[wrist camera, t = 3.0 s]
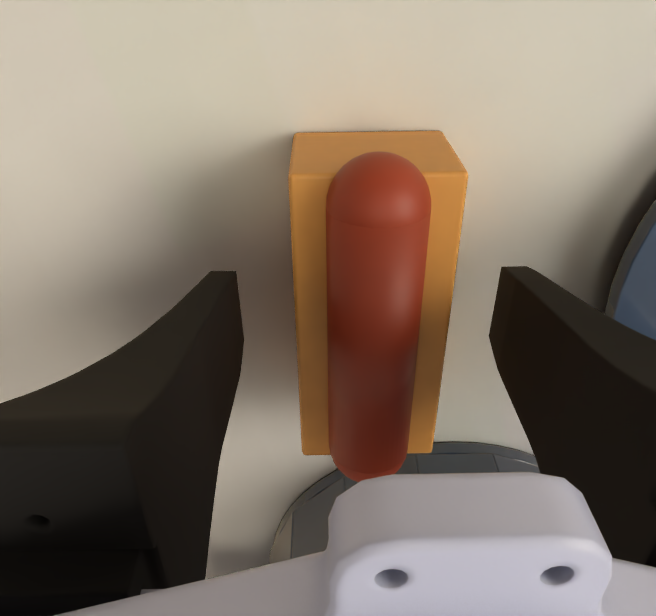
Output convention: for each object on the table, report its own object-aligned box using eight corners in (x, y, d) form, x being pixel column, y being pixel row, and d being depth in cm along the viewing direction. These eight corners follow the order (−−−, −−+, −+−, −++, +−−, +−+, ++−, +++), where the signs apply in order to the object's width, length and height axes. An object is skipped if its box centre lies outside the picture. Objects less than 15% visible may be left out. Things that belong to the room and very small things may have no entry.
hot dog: (292, 113, 13) (283, 174, 9) (444, 111, 13) (488, 171, 9) (304, 395, 17) (301, 502, 14) (415, 393, 17) (438, 499, 14)
